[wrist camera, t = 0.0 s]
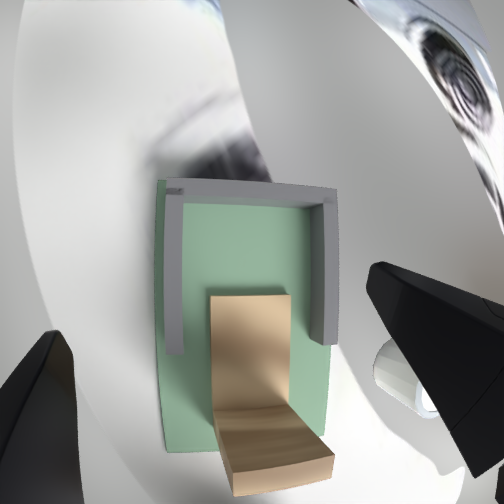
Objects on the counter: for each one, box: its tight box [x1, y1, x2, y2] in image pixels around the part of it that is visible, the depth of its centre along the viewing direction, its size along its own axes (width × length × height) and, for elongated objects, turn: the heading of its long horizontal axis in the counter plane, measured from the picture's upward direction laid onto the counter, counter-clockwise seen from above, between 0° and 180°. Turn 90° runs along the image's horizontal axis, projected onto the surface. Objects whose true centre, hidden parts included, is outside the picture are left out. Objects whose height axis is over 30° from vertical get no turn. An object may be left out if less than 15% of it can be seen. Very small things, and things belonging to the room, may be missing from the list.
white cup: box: [373, 338, 439, 418], centre depth 23 cm, size 7×7×7 cm
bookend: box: [209, 294, 335, 497], centre depth 18 cm, size 11×6×9 cm, turn 179°
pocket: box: [164, 178, 339, 355], centre depth 22 cm, size 12×12×2 cm
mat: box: [155, 180, 331, 453], centre depth 23 cm, size 22×14×1 cm, turn 179°
